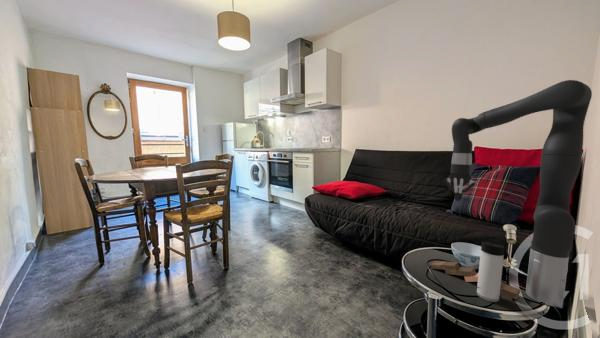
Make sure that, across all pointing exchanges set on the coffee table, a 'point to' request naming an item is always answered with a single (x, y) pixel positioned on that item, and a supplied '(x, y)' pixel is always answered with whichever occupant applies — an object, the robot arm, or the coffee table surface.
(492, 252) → the travel mug
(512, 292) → the walnut tile
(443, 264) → the walnut tile
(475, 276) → the terracotta tile
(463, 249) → the chinaware
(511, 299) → the walnut tile
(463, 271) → the walnut tile
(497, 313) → the coffee table surface
